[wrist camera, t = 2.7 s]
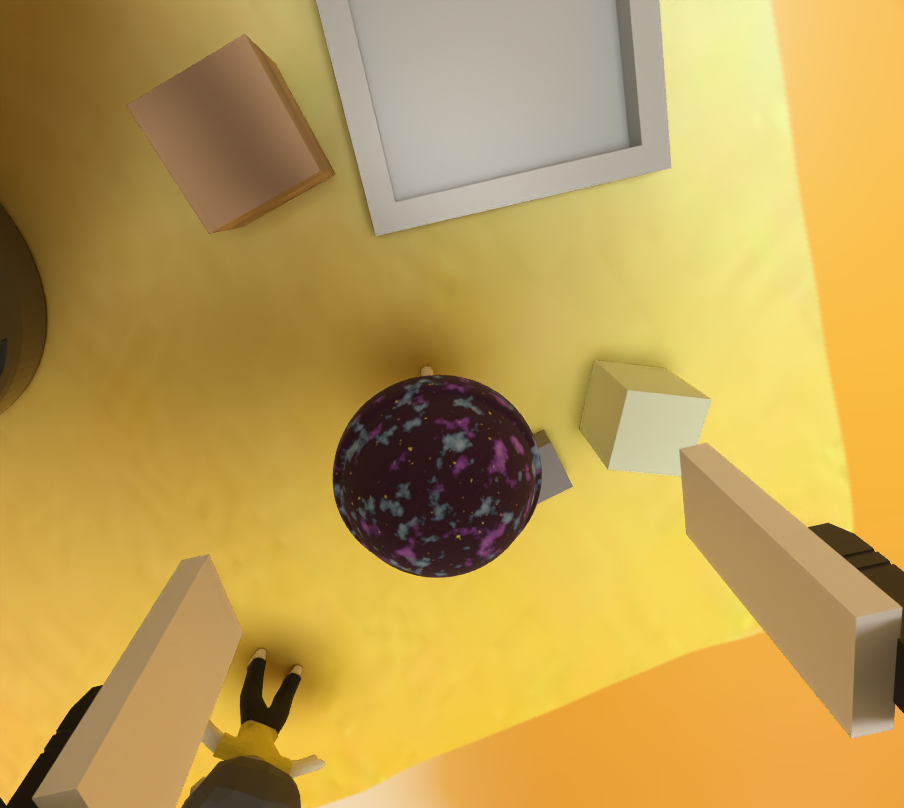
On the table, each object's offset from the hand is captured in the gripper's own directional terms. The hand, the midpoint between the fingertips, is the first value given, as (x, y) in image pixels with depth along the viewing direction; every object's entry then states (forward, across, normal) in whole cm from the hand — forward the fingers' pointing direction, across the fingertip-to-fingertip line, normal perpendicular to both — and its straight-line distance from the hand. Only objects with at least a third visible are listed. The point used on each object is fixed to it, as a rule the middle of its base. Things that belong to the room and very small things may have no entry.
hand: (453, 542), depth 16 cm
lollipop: (+16, 0, 0) cm, 16 cm away
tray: (+15, +6, +14) cm, 22 cm away
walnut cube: (+15, -5, +12) cm, 20 cm away
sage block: (+16, +10, -4) cm, 19 cm away
